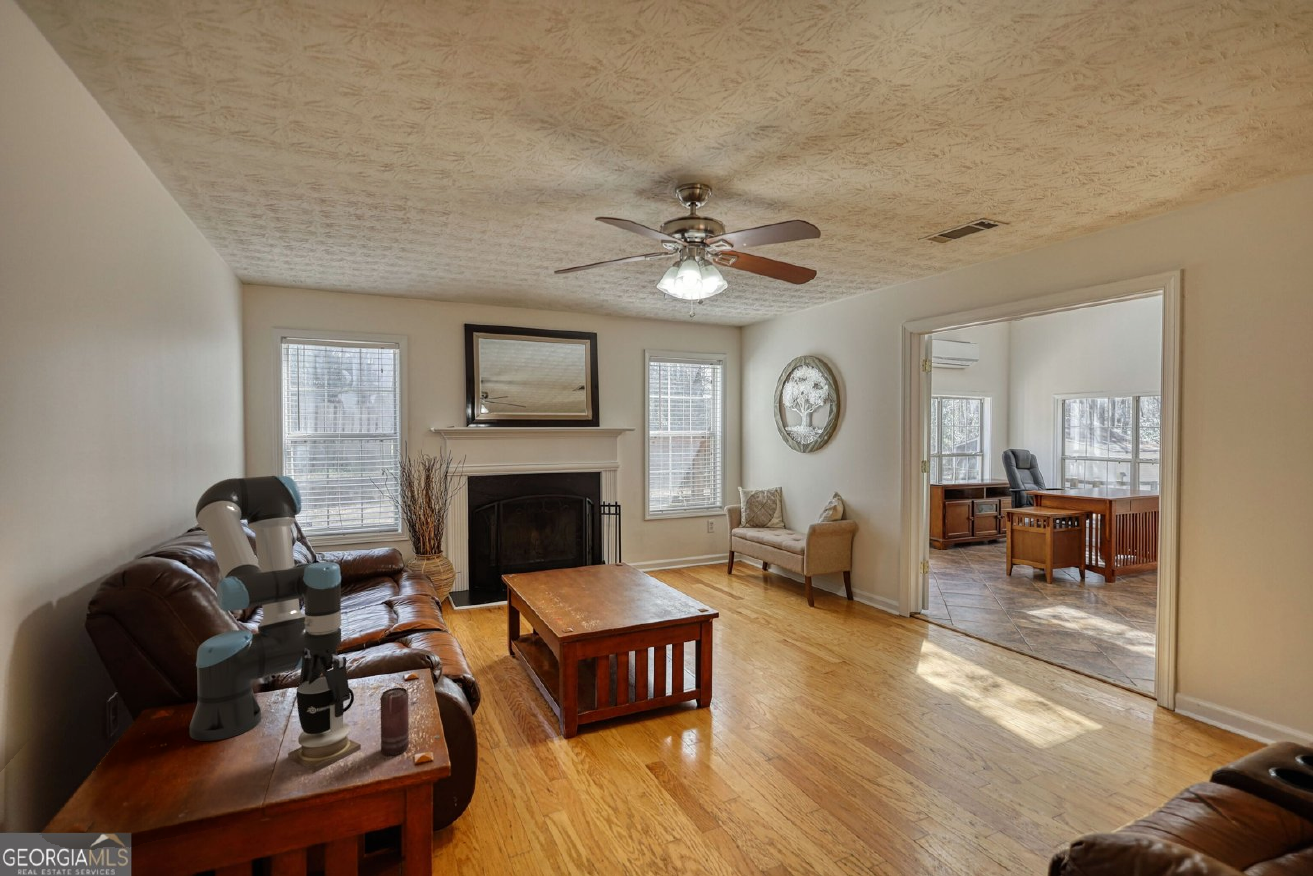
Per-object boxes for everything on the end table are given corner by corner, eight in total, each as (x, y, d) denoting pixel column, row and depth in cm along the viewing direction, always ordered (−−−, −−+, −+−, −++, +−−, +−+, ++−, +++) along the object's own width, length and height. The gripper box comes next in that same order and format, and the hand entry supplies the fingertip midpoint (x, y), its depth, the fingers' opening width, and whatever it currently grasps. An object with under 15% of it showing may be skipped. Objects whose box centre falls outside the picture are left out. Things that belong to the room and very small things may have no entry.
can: (379, 758, 146) (378, 699, 145) (383, 744, 152) (382, 688, 151) (406, 755, 147) (406, 696, 147) (410, 741, 153) (409, 685, 153)
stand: (288, 758, 146) (287, 737, 146) (332, 737, 155) (332, 717, 155) (316, 771, 140) (315, 749, 140) (360, 749, 150) (360, 728, 150)
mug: (300, 741, 140) (299, 697, 140) (294, 725, 147) (294, 683, 147) (358, 726, 147) (357, 683, 147) (350, 711, 154) (349, 671, 154)
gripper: (281, 626, 149) (282, 720, 149) (336, 643, 138) (337, 743, 139) (311, 617, 155) (313, 707, 156) (366, 632, 145) (367, 728, 145)
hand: (324, 724), depth 147 cm, fingers closed on mug, 9 cm apart
